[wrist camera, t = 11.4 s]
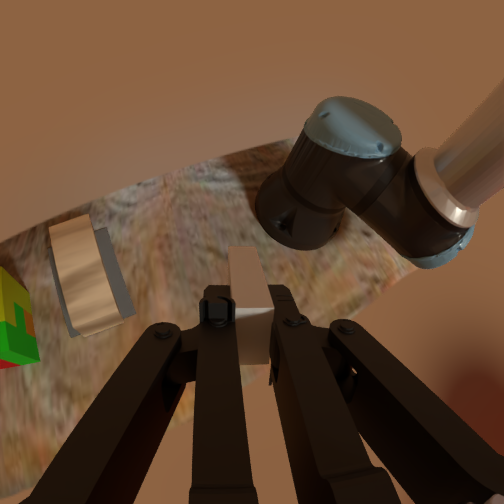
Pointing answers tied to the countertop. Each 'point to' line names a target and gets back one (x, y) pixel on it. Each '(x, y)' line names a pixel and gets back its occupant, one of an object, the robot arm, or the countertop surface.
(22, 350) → the puzzle toy
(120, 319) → the beech block
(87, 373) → the countertop surface
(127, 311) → the rubber mat
